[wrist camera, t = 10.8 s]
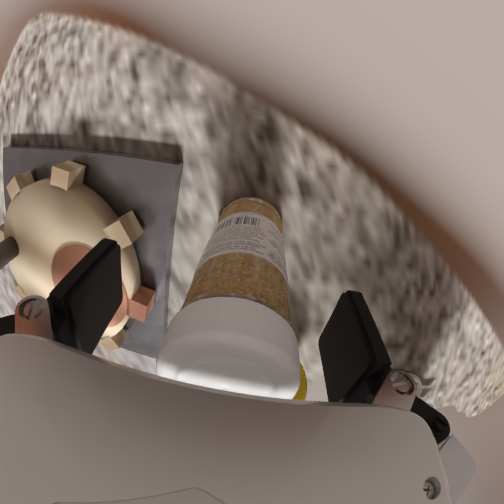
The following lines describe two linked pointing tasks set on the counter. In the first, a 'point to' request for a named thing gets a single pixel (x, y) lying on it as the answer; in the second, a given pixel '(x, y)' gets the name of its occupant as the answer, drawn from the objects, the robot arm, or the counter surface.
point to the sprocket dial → (69, 240)
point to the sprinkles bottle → (237, 311)
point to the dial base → (122, 201)
